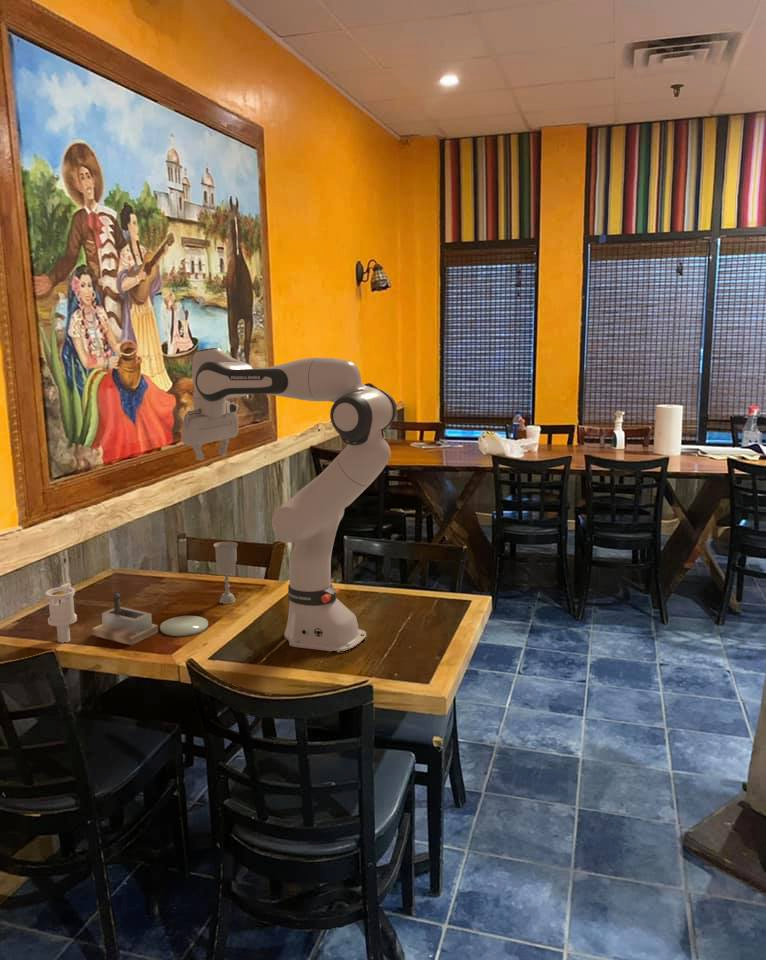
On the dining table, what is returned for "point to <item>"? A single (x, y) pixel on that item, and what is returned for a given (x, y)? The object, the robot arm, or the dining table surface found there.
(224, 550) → the chalice
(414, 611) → the dining table surface
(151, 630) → the stand
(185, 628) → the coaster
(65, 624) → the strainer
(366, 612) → the dining table surface
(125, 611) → the grey hollow block
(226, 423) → the robot arm
